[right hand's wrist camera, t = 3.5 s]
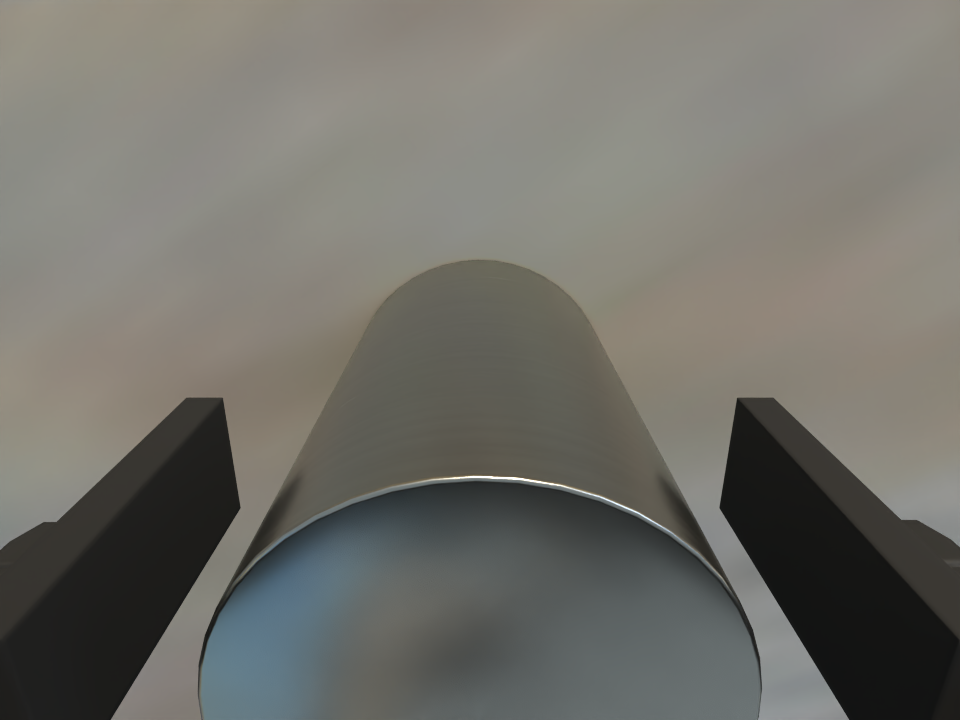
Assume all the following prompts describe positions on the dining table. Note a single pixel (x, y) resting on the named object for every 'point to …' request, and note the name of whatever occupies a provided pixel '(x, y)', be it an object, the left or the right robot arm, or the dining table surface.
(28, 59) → the dining table surface
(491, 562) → the canister
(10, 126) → the dining table surface
